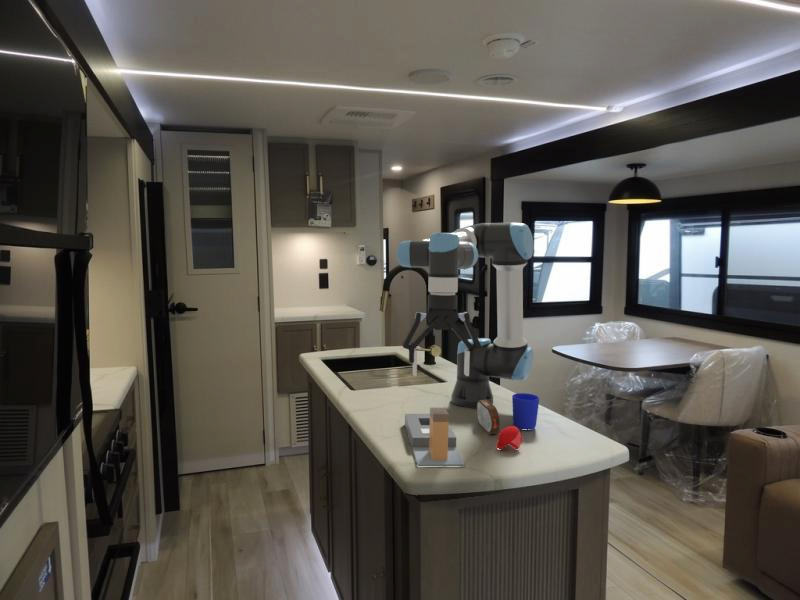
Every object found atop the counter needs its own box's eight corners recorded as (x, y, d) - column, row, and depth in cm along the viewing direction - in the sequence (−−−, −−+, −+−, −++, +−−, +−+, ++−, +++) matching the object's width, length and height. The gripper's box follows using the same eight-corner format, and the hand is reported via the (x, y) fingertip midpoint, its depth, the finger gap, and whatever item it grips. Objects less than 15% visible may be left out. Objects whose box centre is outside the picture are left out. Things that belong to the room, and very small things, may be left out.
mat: (455, 449, 149) (455, 447, 149) (464, 467, 137) (465, 464, 137) (412, 450, 148) (412, 447, 148) (417, 467, 136) (417, 464, 136)
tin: (500, 437, 160) (501, 410, 159) (490, 438, 159) (491, 410, 158) (484, 421, 174) (485, 396, 174) (474, 422, 174) (475, 396, 173)
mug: (540, 422, 175) (541, 391, 174) (536, 433, 164) (538, 401, 163) (514, 419, 178) (515, 389, 177) (509, 430, 166) (510, 398, 166)
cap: (512, 430, 156) (497, 421, 154) (526, 429, 151) (511, 420, 149) (505, 457, 152) (489, 448, 150) (520, 457, 148) (504, 448, 146)
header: (442, 424, 171) (442, 412, 170) (455, 449, 149) (456, 436, 148) (404, 424, 169) (405, 413, 169) (412, 450, 148) (412, 437, 147)
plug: (443, 451, 145) (444, 407, 144) (447, 459, 139) (448, 414, 138) (428, 451, 145) (430, 407, 144) (432, 459, 139) (433, 414, 138)
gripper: (486, 292, 143) (484, 371, 145) (392, 291, 141) (391, 371, 143) (494, 295, 136) (491, 378, 138) (395, 294, 134) (393, 378, 136)
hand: (440, 375), depth 140 cm, fingers open, 13 cm apart
